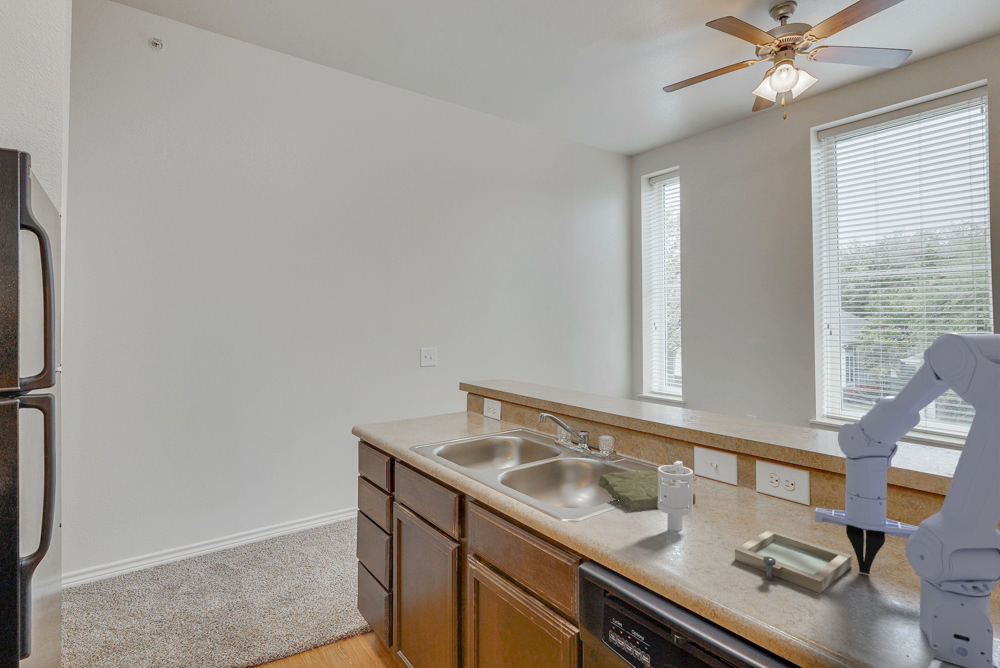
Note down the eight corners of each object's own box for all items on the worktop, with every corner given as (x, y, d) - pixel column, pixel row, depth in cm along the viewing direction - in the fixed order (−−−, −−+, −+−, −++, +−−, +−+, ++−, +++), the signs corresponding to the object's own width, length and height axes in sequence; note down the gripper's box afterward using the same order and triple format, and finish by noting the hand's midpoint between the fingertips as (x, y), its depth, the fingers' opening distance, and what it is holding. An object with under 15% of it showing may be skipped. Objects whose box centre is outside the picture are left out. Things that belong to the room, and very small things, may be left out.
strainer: (696, 532, 105) (696, 463, 104) (687, 544, 99) (687, 471, 99) (663, 524, 109) (663, 457, 109) (653, 535, 103) (653, 465, 103)
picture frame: (817, 595, 78) (817, 583, 78) (731, 561, 90) (731, 550, 89) (851, 566, 87) (851, 555, 87) (769, 538, 99) (770, 529, 99)
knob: (774, 591, 82) (774, 562, 82) (762, 588, 83) (762, 559, 83) (775, 586, 84) (776, 558, 83) (763, 583, 85) (764, 555, 85)
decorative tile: (651, 479, 141) (651, 467, 141) (696, 505, 121) (696, 491, 121) (592, 486, 136) (592, 473, 136) (629, 513, 116) (629, 499, 116)
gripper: (917, 495, 83) (916, 573, 84) (816, 479, 92) (815, 550, 92) (923, 508, 78) (921, 592, 78) (815, 490, 86) (813, 566, 86)
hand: (864, 570), depth 85 cm, fingers closed
